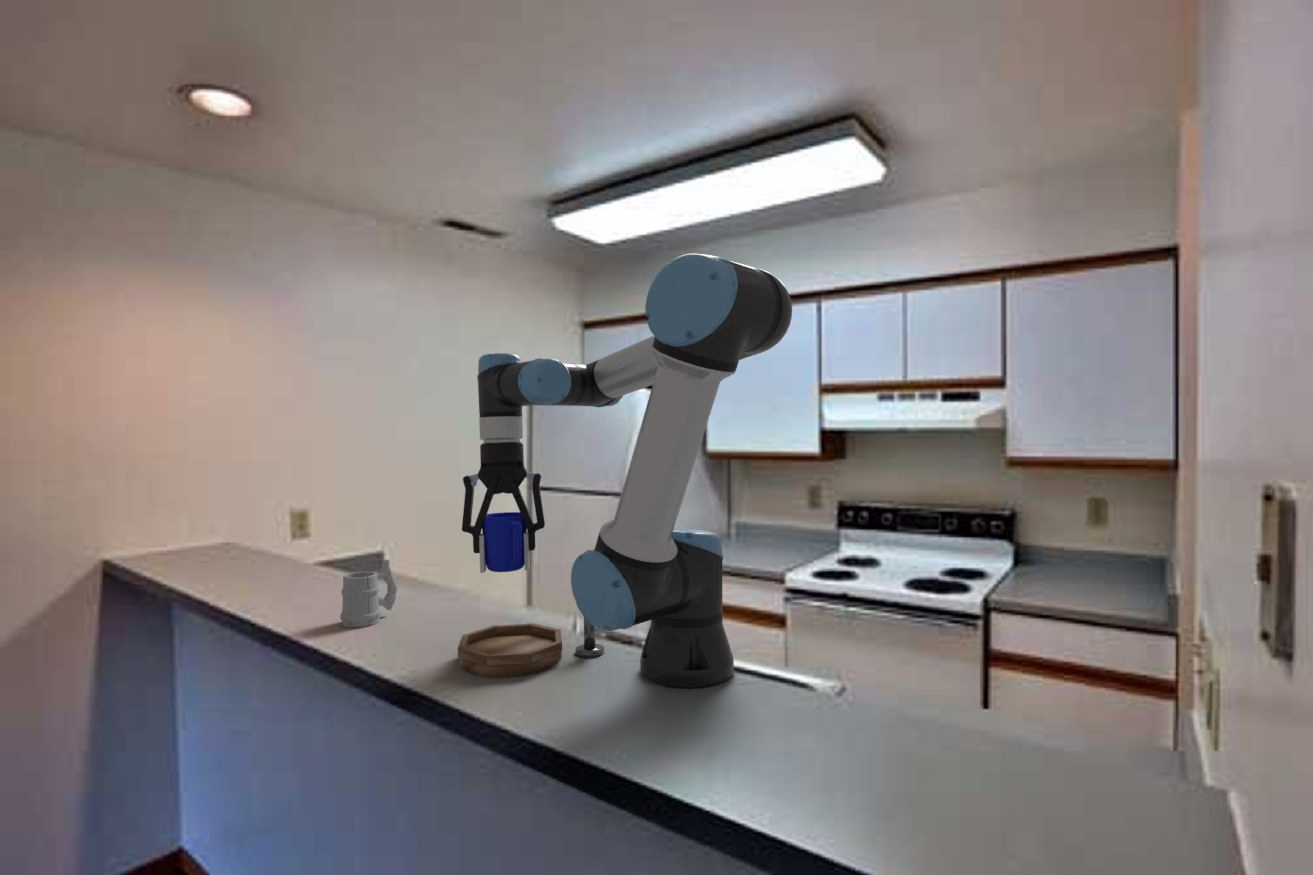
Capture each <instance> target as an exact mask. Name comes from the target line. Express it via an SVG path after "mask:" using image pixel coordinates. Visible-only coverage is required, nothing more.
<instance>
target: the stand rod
mask: <svg viewBox="0 0 1313 875" xmlns="http://www.w3.org/2000/svg"><path fill="white" fill-rule="evenodd" d="M574 651H575V652H574V653H575V655H576V656H577V657H581V658H596V657H599V656H602V655H604V653H605V647H604V645H602V644H598V643H596V627H594V626H593V625H591V624H590V623H589V622H588V621H587V620H586V619H585V618H584V617H583V644H580V645H577V646H575V650H574Z"/></svg>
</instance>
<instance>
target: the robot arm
mask: <svg viewBox="0 0 1313 875" xmlns="http://www.w3.org/2000/svg"><path fill="white" fill-rule="evenodd" d="M644 309H645V310H644V312H645V316H646V318H648V320H647V321H646V323H647V325H648V328H649V330H650V332H651V333H652V336H649V337H647V338H645V339H642V340H640V341H638V342H635V343H634V344H631V345H628V346H627V347H625V348H622V349H620V350H617V351H615V352H612V353H611V354H608V355H606V356H604V357H602V358H600V359H596V360H595V361H592V362H589V363H585V364H584V363H568V362H561V361H560V360H558V359H557V358H542V357H541V358H535V359H534V360H533V359H532V360H528V361H524V362H523V361H522V360H521V357H520V356H519V355H517V354H515V353H507V352H506V353H505V352H503V353H501V352H499V353H498V352H497V353H486V354H483V355H481V356H480V357H479V359H478V365H477V367H478V368H477V370H478V373H477V375H476V376H477V377H476V379H477V391H478V413H479V418H478V420H479V422H478V423H479V439H480V440H481V441H483V443H481V444H480V446H479V451H480V452H479V454H480V457H479V458H480V467H479V470H478V472H477V473H476V474H471V475H465V476H463V477H462V481H463V486H464V489H465V491H464V502H463V511H462V512H463V513H462V522H461V531H462V532H464V533H468V534H470V535H472V548H473V549H472V551H473V553H474V554H479V571H480V572H479V573H480V574H482V573H486V571H487V566H486V559H485V540H484V535H483V533H482V525H483V522H484V518H485V517H486V515H487V514H488V512H489V510H490V506H491V503H492V501H493V499H494V495H499V494H512V496H513V499H514V501H515V503H516V505H517V509H518V512H520V513H521V515H522V518H523V520H524V523H525V525H526V527H527V532H525V533H524V563H525V564H524V571H530V569H531V568H530V566H531V564H530V562H531V561H530V551H535V548H536V532H537V531H539V530H542V529H544V528H545V524H546V521H545V515H544V509H543V502H542V495H541V489H540V483H541V480H542V474H541V473H539V472H536V473H535V472H530V471H527V469H526V466H525V462H524V460H525V458H524V444H523V442H521V441H520V440H522V439H523V438H524V427H523V407H531V406H550V407H551V406H553V407H554V406H560V407H561V406H562V407H563V406H565V407H572V406H573V407H593V408H604V407H612V406H615V405H617V404H618V403H619V402H620V401H621V399H623V396H625V395H628V394H631V393H634V392H636V391H639V390H642V389H644V388H648V387H651V386H652V387H651V390H650V394H649V397H648V401H647V403H646V408H645V411H644V414H643V418H642V422H641V425H640V429H639V431H638V435H637V439H636V442H635V446H634V447H633V448H634V449H633V453H632V456H631V459H630V462H629V466H628V470H627V472H626V473H627V474H626V477H625V481H624V483H623V486H622V490H621V493H620V494H621V495H620V497H619V500H618V505H617V508H616V512H615V515H614V519H611V520H610V521H607V522H605V523H603V525H601V527H600V530H599V533H598V536H597V539H596V542H595V546H594V549H587V550H586V551H584V552H583V553H581V554H579V555H578V556H577V557H576V559H575V560H574V561H573V565H572V567H571V572H570V586H571V591H572V596H573V598H574V601H575V603H576V606H577V608H578V610H579V612H580V614H581V615H582V617H583V619H584V618H585V619H586V620H587V621H588V622H589V623H590V624H591V625H593V626H594V627H595V629H598V630H600V631H603V632H613V631H619V630H627V629H630V628H631V627H633V626H636V625H639V624H643V623H646V622H649V621H650V625H649V628H648V632H647V634H646V638H645V642H644V645H643V648H642V651H641V653H640V660H639V661H640V663H639V666H640V670H639V671H640V674H641V675H642V677H643V678H645V679H646V680H648V681H649V682H652V683H655V684H658V685H662V686H667V687H674V688H703V687H710V686H714V685H718V684H721V683H723V682H725V681H728V680H730V679H731V677H733V675H734V671H735V670H734V669H735V668H734V667H735V665H734V663H735V662H734V654H733V652H732V650H731V645H730V643H729V639H728V637H727V634H726V629H725V628H724V624H723V623H724V622H723V560H724V555H723V548H722V546H723V544H722V539H721V537H720V536H719V535H718V534H717V533H715V532H713V531H708V530H702V529H701V530H699V529H693V528H690V529H689V528H683V527H682V528H681V527H680V528H678V527H676V523H677V519H678V516H679V512H680V510H681V506H682V504H683V501H684V498H685V495H686V491H687V488H688V485H689V482H690V479H691V476H692V473H693V468H694V466H695V463H696V459H697V456H698V453H699V450H700V448H701V443H702V442H703V437H704V434H705V431H706V428H707V425H708V422H709V419H710V415H711V414H712V413H711V412H712V409H713V405H714V403H715V399H716V396H717V393H718V389H719V387H720V384H721V382H723V380H725V379H726V378H729V377H730V376H732V375H734V374H736V371H737V368H738V364H739V362H740V361H741V360H743V359H744V360H745V359H746V358H750V357H752V356H756V355H759V354H761V353H765V352H766V351H769V350H770V349H772V348H773V347H775V346H776V345H777V344H779V342H781V341H782V339H783V338H784V336H785V335H786V334H787V332H788V330H789V327H790V325H791V321H792V318H793V306H792V298H791V296H790V294H789V292H788V290H787V287H786V286H785V284H783V282H782V281H781V280H780V279H779V278H778V277H777V276H776V275H774V274H773V273H771V272H769V271H766V270H764V269H761V268H757V267H753V266H749V265H746V264H742V263H739V262H734V261H733V260H728V259H725V258H723V257H721V256H719V255H717V256H716V255H710V254H702V253H686V254H682V255H680V256H677V257H676V258H675V257H674V259H673V260H672V261H671V262H668V263H666V264H665V265H664V266H663V267H662V268H661V269H660V270H659V272H657V274H656V275H655V277H654V279H653V280H652V282H651V284H650V286H649V289H648V292H647V295H646V299H645V308H644ZM525 478H526V479H527V481H528V483H529V484H530V485H532V486H531V489H532V495H533V496H532V497H533V502H534V508H535V516H536V517H535V518H536V522H535V523H534V521H533V519H532V517H531V514H530V511H529V509H528V507H527V505H526V502H525V499H524V498H523V495H522V491H521V489H520V486H521V484H522V483H523V482H524V481H525ZM479 480H480V481H481V482H482V484H483V486H484V487H485V488H486V491H485V493H484V497H483V500H482V503H481V506H480V509H479V512H478V514H477V517H476V521H475V523H474V525H472V516H473V515H472V514H473V507H474V493H475V487H476V486H477V484H478V481H479Z"/></svg>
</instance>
